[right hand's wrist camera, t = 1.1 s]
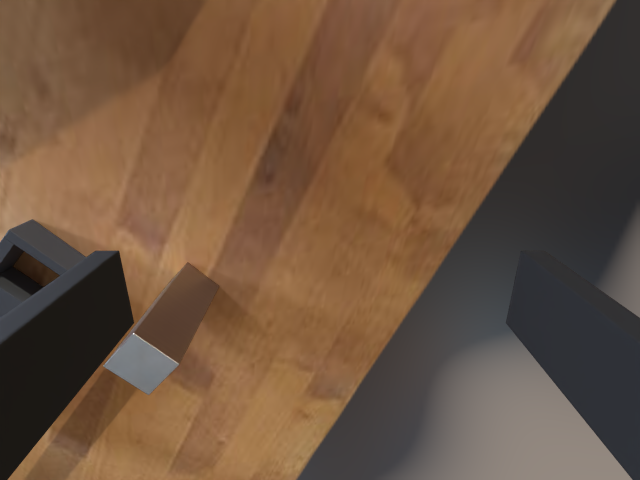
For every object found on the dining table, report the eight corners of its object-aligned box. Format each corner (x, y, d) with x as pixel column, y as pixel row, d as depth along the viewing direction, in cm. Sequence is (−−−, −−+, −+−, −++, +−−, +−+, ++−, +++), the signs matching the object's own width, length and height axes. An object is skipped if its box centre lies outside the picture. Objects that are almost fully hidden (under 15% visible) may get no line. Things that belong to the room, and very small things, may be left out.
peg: (164, 287, 39) (102, 366, 28) (187, 261, 38) (133, 333, 27) (196, 310, 40) (148, 395, 29) (219, 286, 39) (179, 364, 28)
